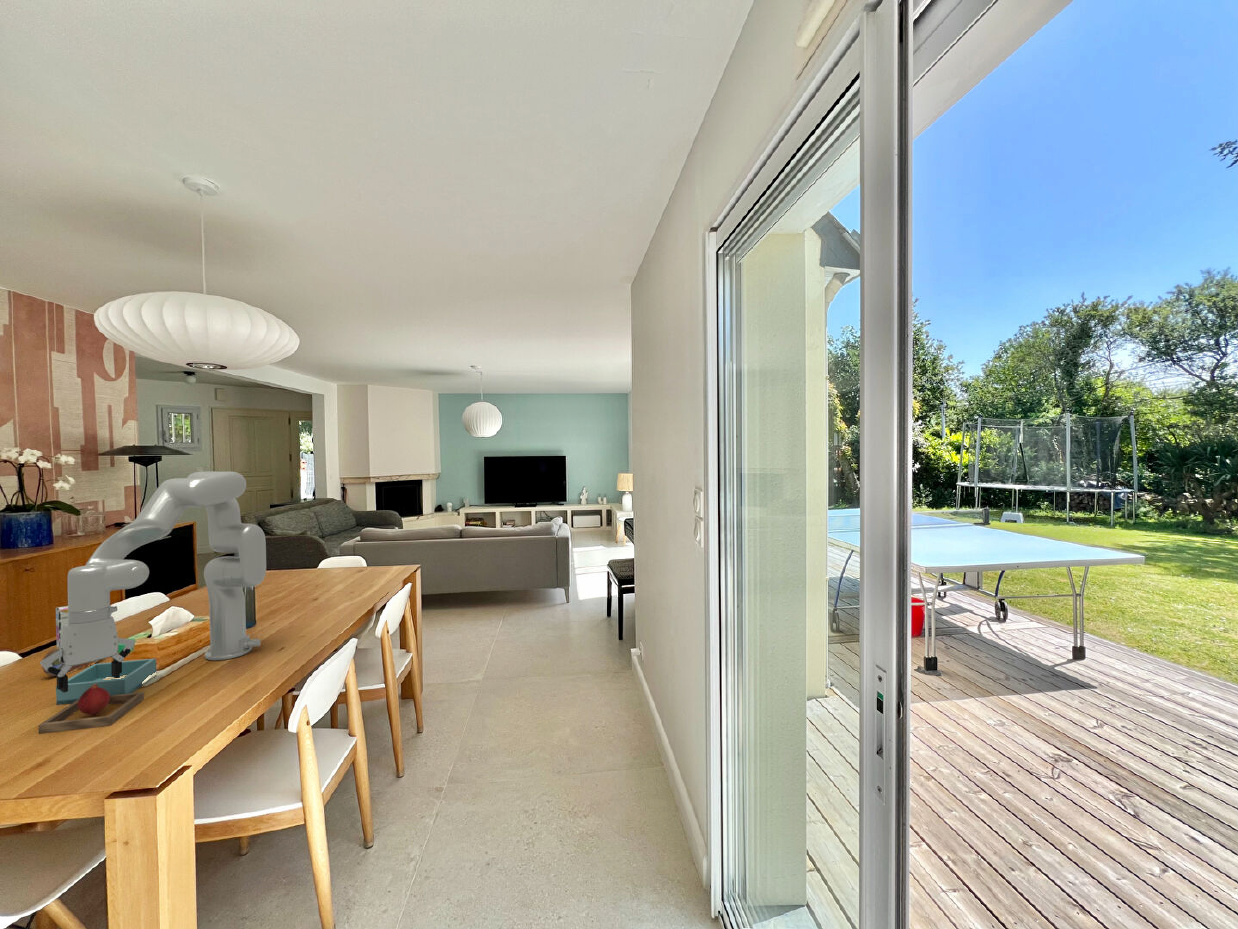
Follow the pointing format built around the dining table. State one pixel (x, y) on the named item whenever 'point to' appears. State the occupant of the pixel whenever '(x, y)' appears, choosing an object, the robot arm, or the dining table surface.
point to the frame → (59, 725)
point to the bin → (98, 672)
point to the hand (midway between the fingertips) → (90, 684)
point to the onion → (93, 700)
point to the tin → (57, 663)
